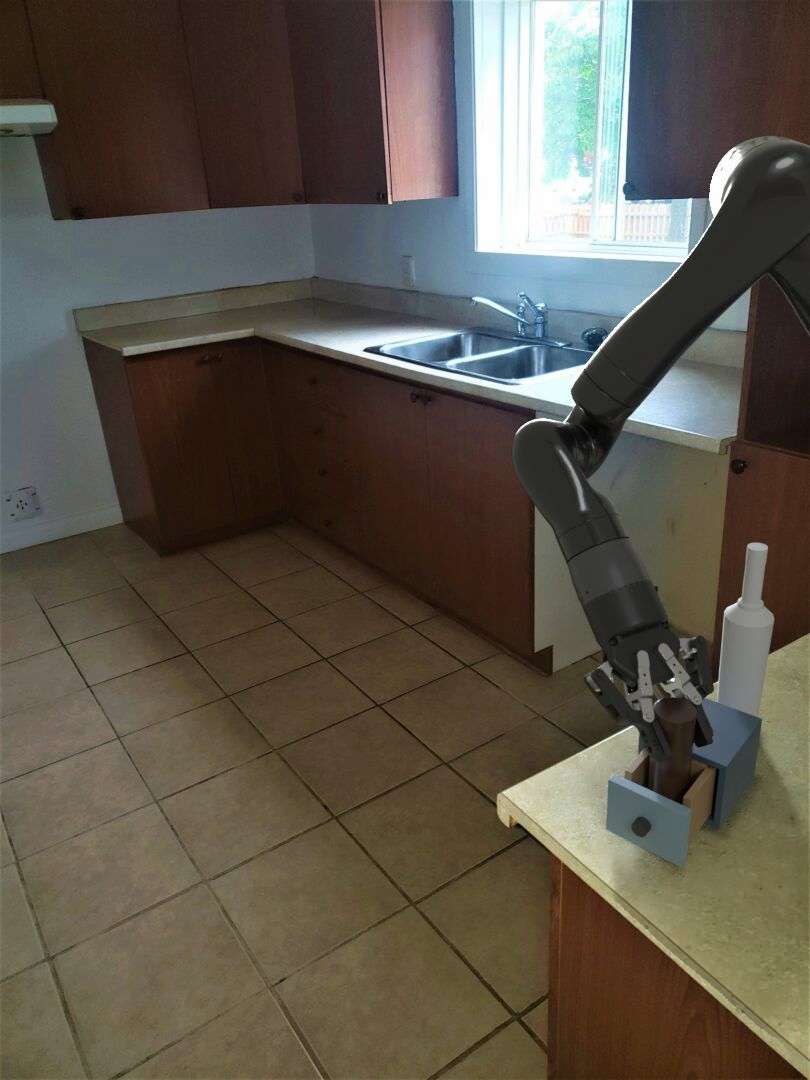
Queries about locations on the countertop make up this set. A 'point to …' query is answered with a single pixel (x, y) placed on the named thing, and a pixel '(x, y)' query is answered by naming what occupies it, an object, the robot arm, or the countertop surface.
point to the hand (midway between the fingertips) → (685, 752)
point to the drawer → (659, 810)
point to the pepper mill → (674, 748)
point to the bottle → (746, 639)
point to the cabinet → (728, 756)
